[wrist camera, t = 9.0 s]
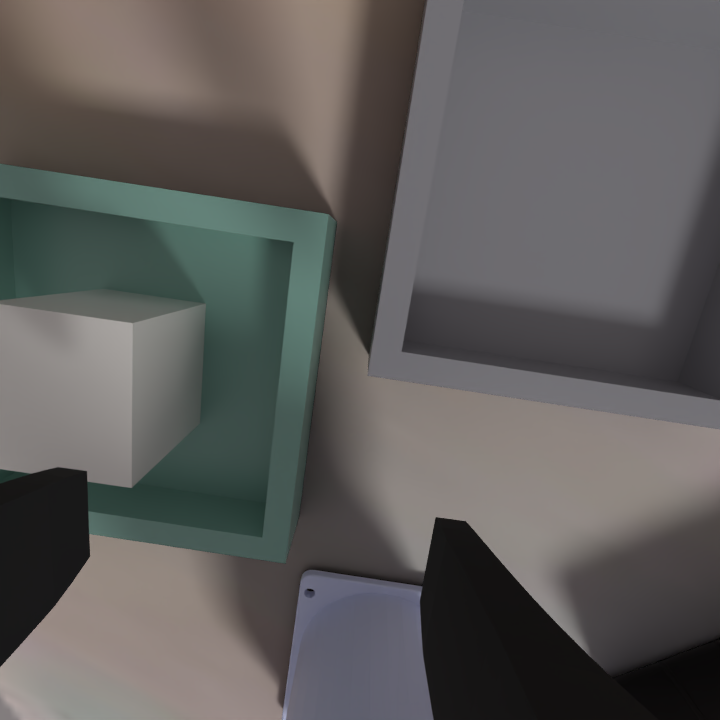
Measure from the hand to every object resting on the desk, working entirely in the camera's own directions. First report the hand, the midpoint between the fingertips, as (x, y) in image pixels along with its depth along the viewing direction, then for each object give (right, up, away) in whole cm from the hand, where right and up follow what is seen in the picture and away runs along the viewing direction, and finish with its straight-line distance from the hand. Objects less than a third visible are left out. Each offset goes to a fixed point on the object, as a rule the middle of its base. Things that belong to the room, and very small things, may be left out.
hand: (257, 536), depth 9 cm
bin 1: (-6, +4, +9) cm, 11 cm away
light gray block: (-6, +4, +8) cm, 11 cm away
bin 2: (+10, +9, +7) cm, 15 cm away
